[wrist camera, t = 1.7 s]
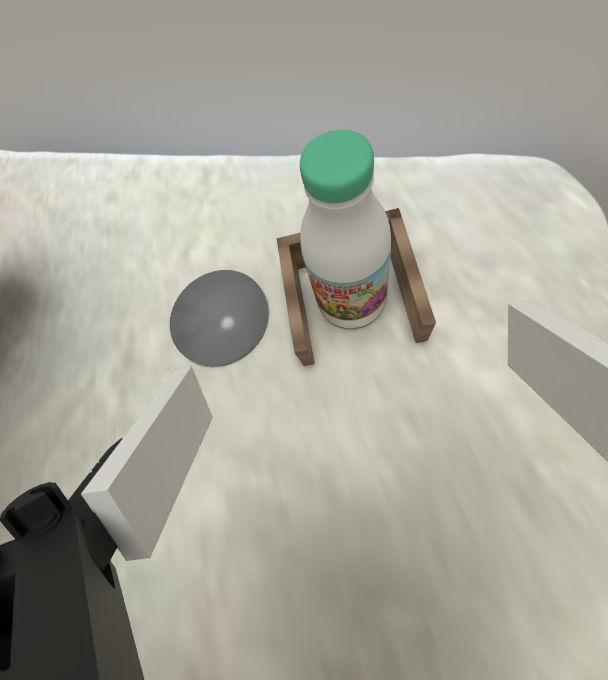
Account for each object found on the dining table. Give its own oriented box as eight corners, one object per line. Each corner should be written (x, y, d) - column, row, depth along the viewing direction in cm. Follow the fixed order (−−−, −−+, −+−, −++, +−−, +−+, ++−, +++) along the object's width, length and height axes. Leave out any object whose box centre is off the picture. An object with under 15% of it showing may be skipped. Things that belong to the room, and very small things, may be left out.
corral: (286, 262, 43) (276, 238, 38) (395, 236, 41) (398, 208, 37) (303, 366, 38) (294, 352, 33) (427, 340, 36) (435, 322, 32)
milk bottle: (316, 273, 42) (273, 120, 23) (381, 265, 40) (392, 97, 22) (320, 333, 39) (274, 216, 20) (390, 326, 38) (409, 195, 19)
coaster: (157, 316, 44) (152, 313, 43) (232, 256, 44) (229, 252, 44) (207, 387, 39) (203, 385, 38) (288, 320, 40) (286, 316, 39)
